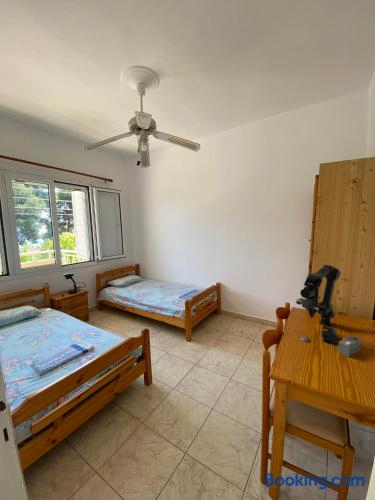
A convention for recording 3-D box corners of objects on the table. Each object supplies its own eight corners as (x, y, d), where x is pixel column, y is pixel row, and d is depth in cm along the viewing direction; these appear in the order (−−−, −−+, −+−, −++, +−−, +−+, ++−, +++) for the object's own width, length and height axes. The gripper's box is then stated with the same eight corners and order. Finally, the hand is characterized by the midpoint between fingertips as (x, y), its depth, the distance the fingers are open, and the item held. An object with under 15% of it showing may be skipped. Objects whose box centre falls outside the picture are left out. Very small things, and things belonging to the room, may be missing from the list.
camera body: (349, 344, 120) (350, 333, 119) (360, 349, 115) (361, 338, 114) (336, 351, 114) (337, 339, 113) (348, 356, 109) (349, 345, 108)
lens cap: (303, 337, 129) (303, 335, 128) (311, 341, 124) (311, 339, 124) (298, 339, 126) (298, 337, 126) (306, 343, 122) (306, 341, 122)
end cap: (337, 345, 119) (338, 334, 118) (323, 342, 122) (323, 331, 121) (335, 337, 127) (336, 327, 126) (321, 334, 131) (322, 324, 130)
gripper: (291, 292, 134) (290, 315, 136) (321, 302, 117) (319, 327, 119) (301, 289, 139) (300, 311, 141) (332, 298, 123) (330, 323, 125)
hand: (311, 318), depth 131 cm, fingers closed
